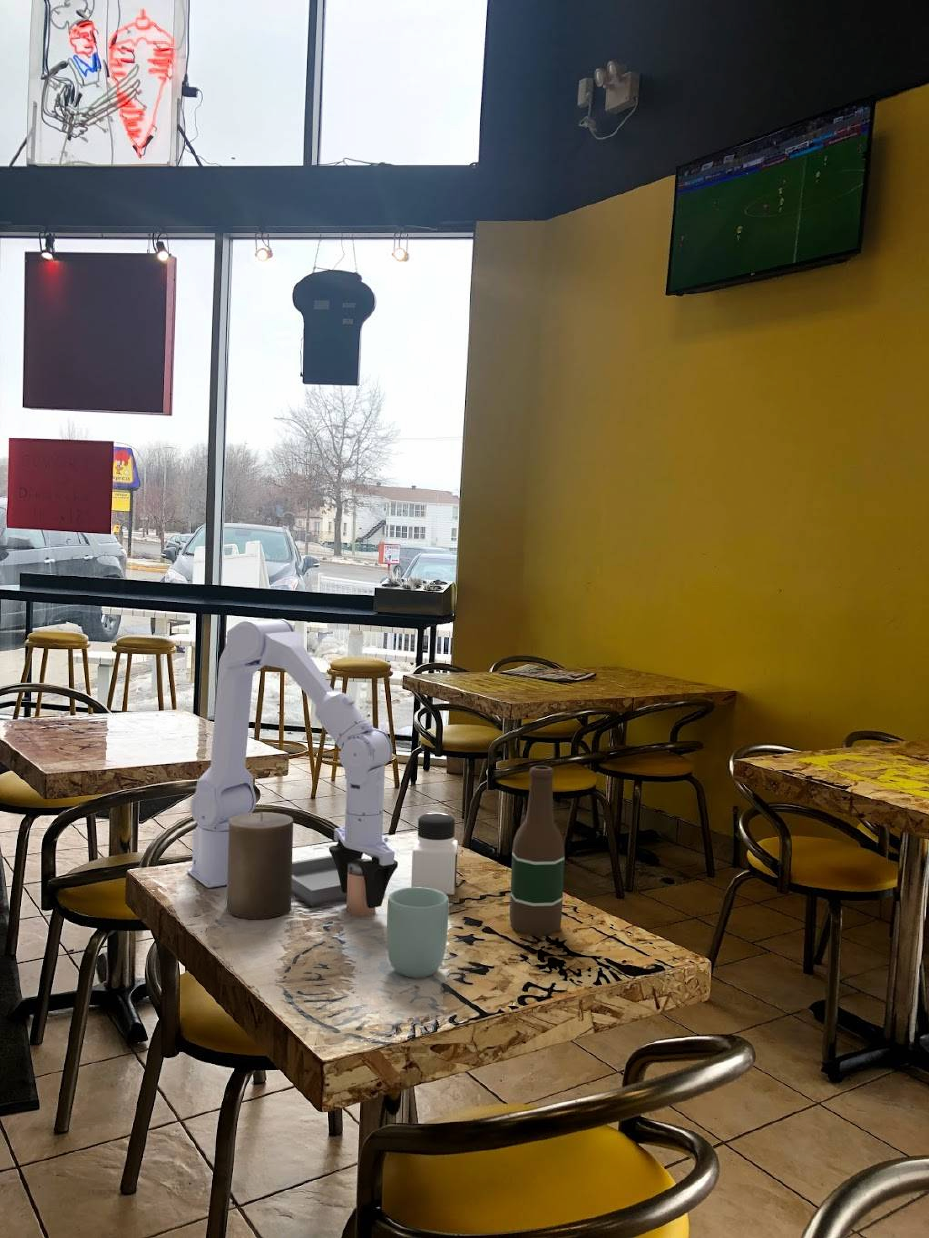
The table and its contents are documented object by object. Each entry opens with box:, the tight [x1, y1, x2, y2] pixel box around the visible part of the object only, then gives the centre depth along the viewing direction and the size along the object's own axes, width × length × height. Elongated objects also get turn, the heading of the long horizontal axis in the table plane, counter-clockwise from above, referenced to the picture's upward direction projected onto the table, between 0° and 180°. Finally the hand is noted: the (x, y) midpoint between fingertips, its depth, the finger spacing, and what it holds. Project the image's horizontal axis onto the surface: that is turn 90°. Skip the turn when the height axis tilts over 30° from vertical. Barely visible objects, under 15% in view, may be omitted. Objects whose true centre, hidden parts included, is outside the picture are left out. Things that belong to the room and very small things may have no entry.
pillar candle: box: [226, 811, 294, 920], centre depth 151 cm, size 10×10×15 cm
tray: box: [291, 855, 347, 907], centre depth 162 cm, size 14×13×2 cm
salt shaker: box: [346, 858, 377, 918], centre depth 151 cm, size 4×4×8 cm
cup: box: [386, 886, 450, 979], centre depth 130 cm, size 8×8×10 cm
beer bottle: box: [509, 765, 565, 937], centre depth 147 cm, size 8×8×24 cm
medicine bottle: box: [410, 812, 459, 896], centre depth 163 cm, size 7×7×12 cm
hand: (361, 898), depth 151 cm, fingers open, 7 cm apart
